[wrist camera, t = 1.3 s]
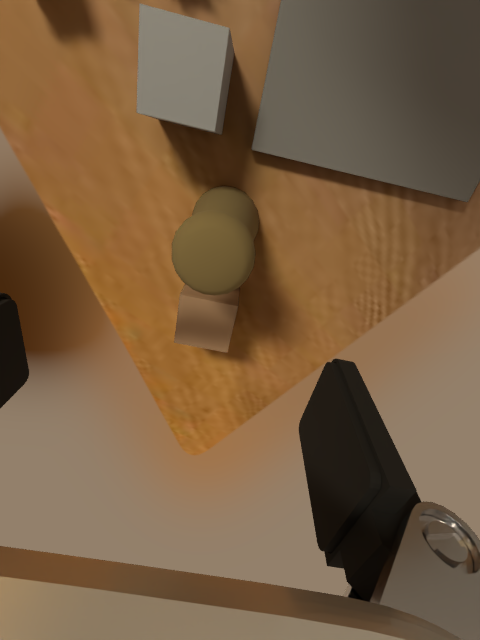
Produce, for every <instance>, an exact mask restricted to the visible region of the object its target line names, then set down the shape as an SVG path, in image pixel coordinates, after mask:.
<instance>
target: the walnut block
mask: <svg viewBox="0 0 480 640" xmlns="http://www.w3.org/2000/svg"><path fill="white" fill-rule="evenodd" d="M239 292H240V287H239V288H238V289H236V290H234V291H232V292H230V293H228V294H222V295H217V296H215V295H206V294H202V293H200V292H197V291H195V290H193V289H191V288H190V287H189V286H188V285H186V284H185V285H184V287H183V289H182V291H181V293H180V298H179V306H178V315H177V323H176V332H175V340H174V343H179V344H184V345H189V346H195V347H200V348H205V349H210V350H215V351H221V352H226V353H227V352H228V348H229V344H230V339H231V335H232V331H233V327H234V322H235V318H236V314H237V309H238V303H239Z"/></svg>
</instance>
